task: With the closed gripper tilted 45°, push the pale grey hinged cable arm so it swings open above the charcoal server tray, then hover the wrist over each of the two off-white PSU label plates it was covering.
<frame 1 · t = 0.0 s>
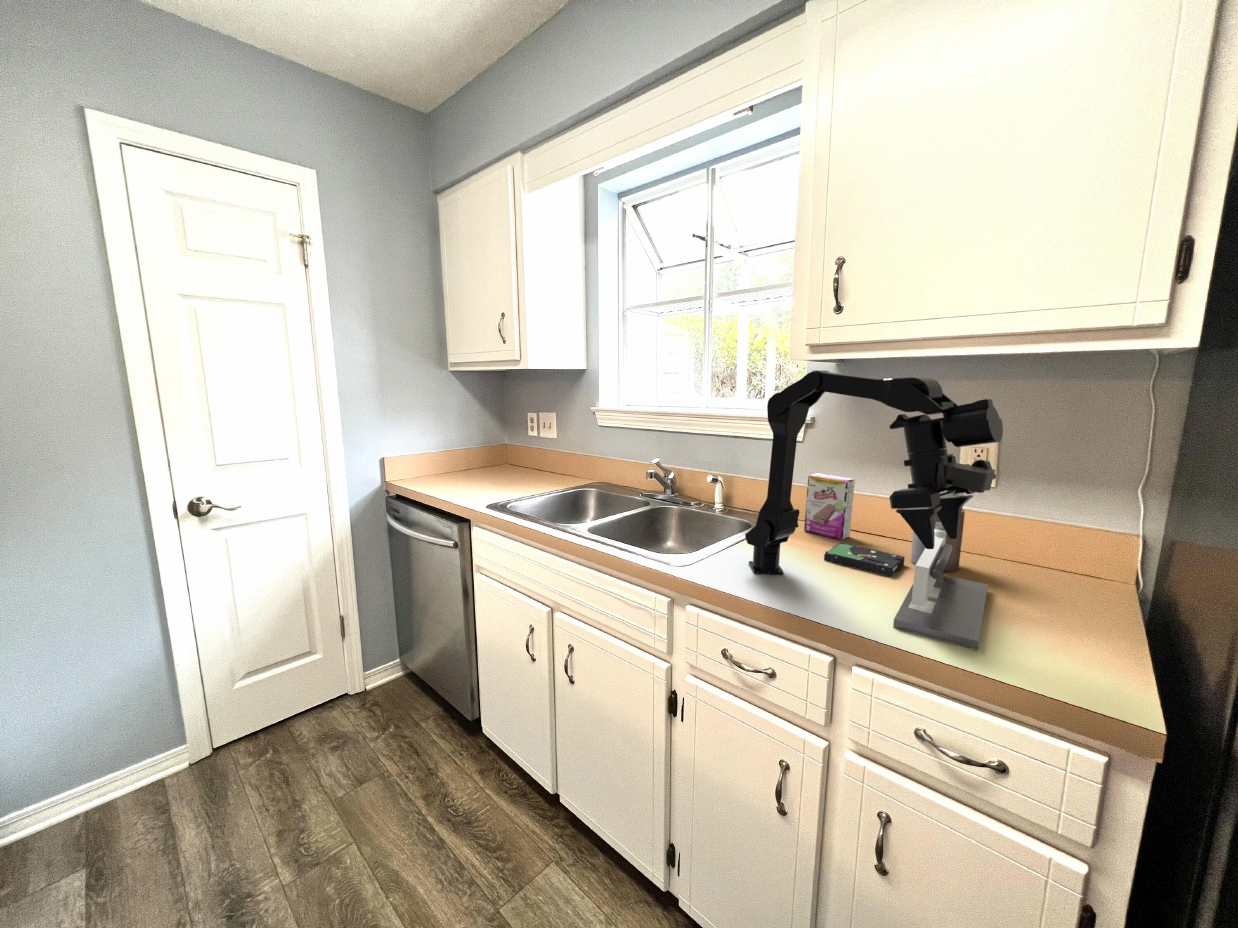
hand: (942, 543, 84), 15 cm above the worktop, tool pointing down, fingers open, 9 cm apart
pillar candle: (933, 565, 117), on the worktop
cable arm: (934, 567, 95), point 7 cm above the worktop, hinge at 0.0°
server tray: (943, 607, 95), on the worktop
candy bar box: (826, 534, 140), on the worktop
disk drive: (863, 565, 118), on the worktop
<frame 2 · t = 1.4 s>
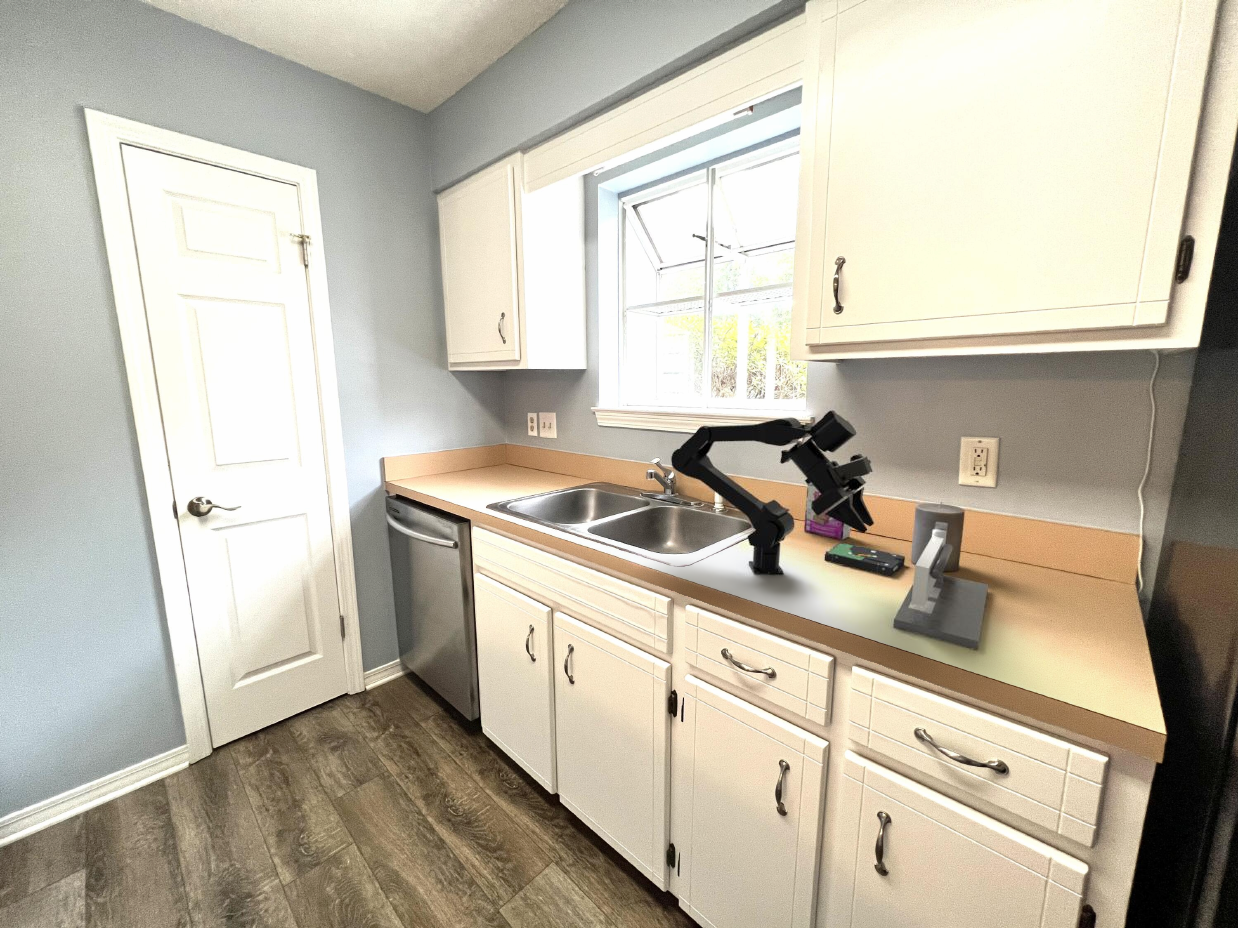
hand: (868, 528, 99), 14 cm above the worktop, tool tilted 45°, fingers open, 5 cm apart
nothing on the worktop moved.
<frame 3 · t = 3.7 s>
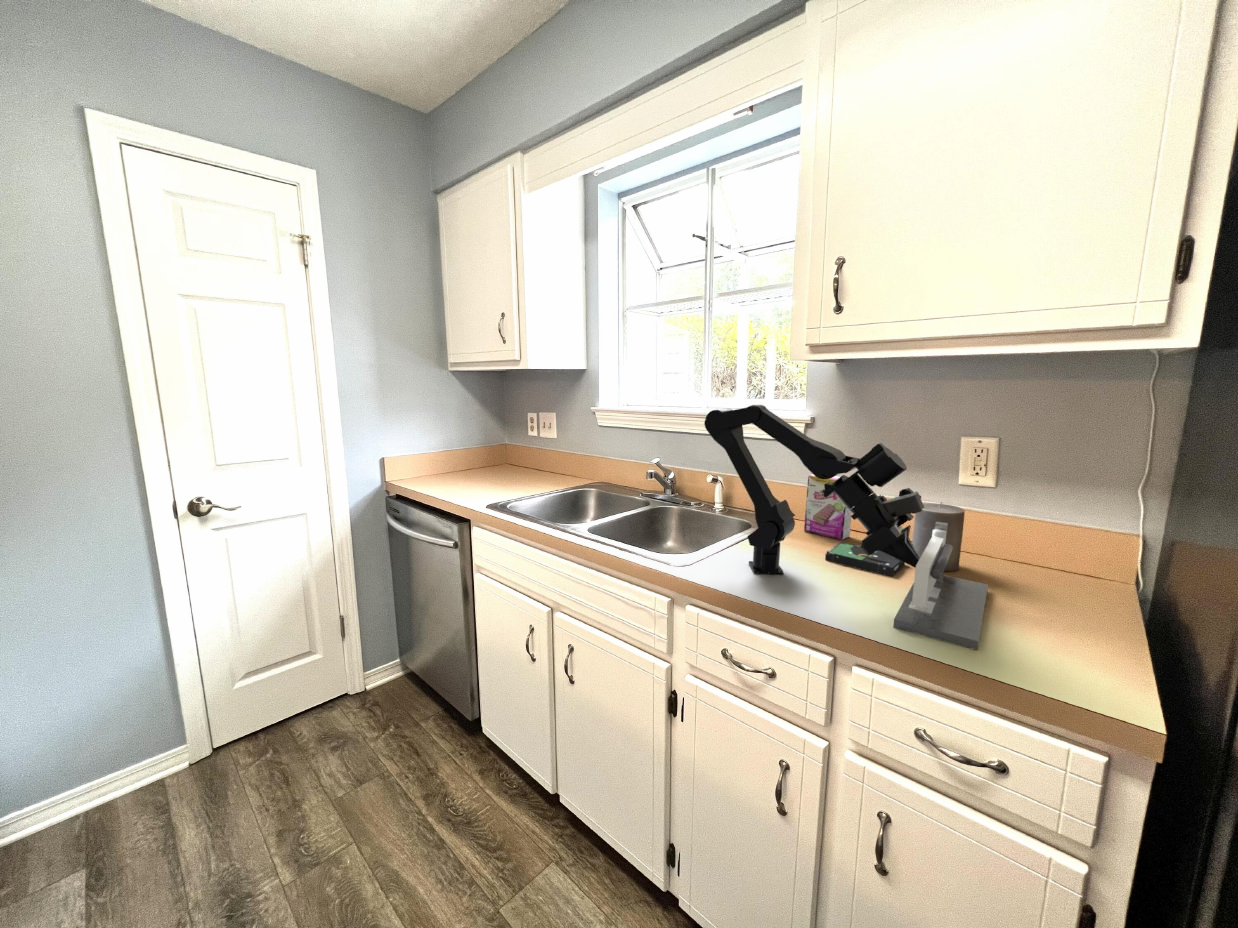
hand: (920, 567, 94), 8 cm above the worktop, tool tilted 45°, fingers closed, pressing on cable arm
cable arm: (934, 567, 95), point 7 cm above the worktop, hinge at 0.3°, touching gripper
everything else where it was.
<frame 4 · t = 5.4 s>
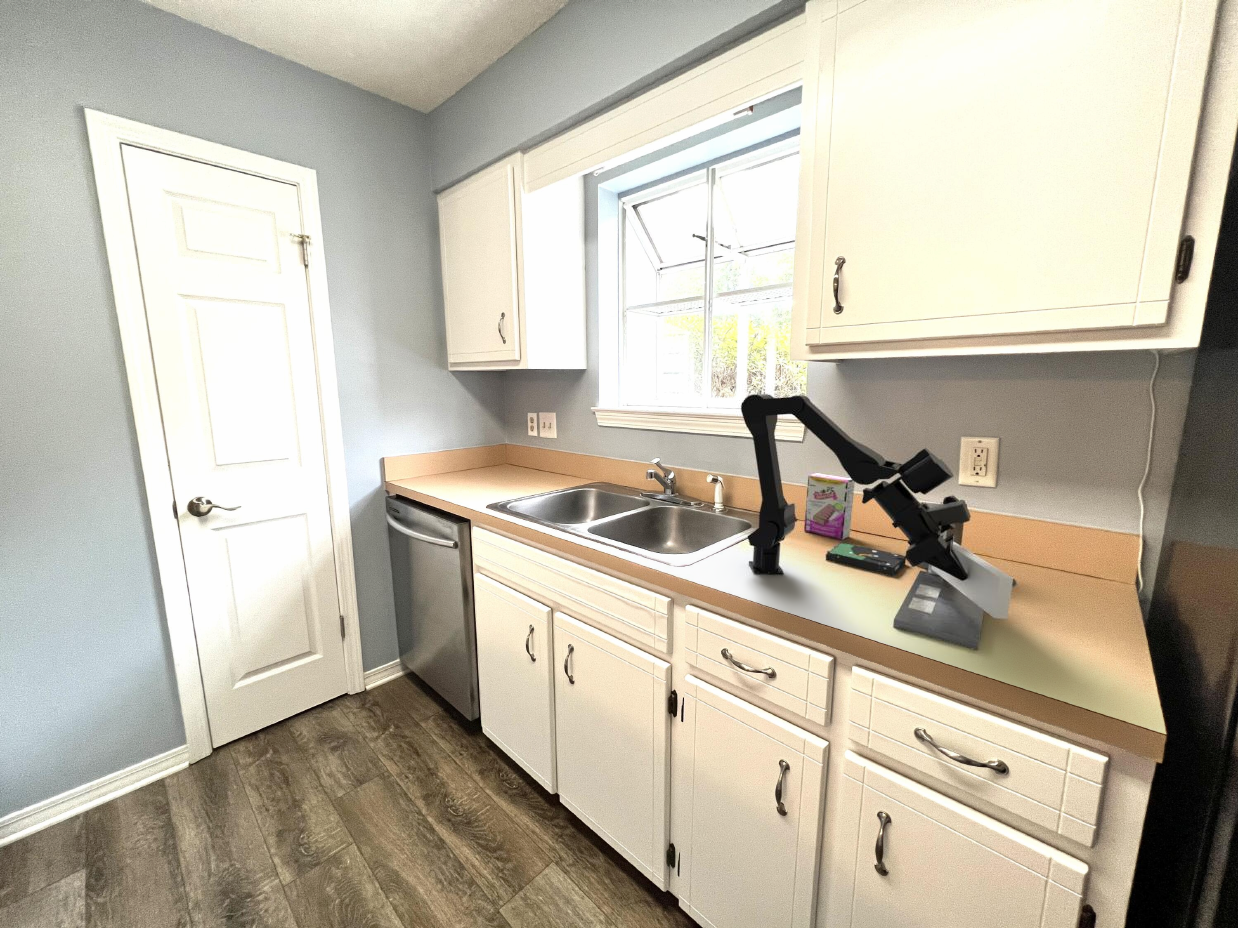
hand: (965, 578, 90), 7 cm above the worktop, tool tilted 45°, fingers closed
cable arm: (968, 571, 93), point 7 cm above the worktop, hinge at 30.4°, touching gripper
everything else where it was.
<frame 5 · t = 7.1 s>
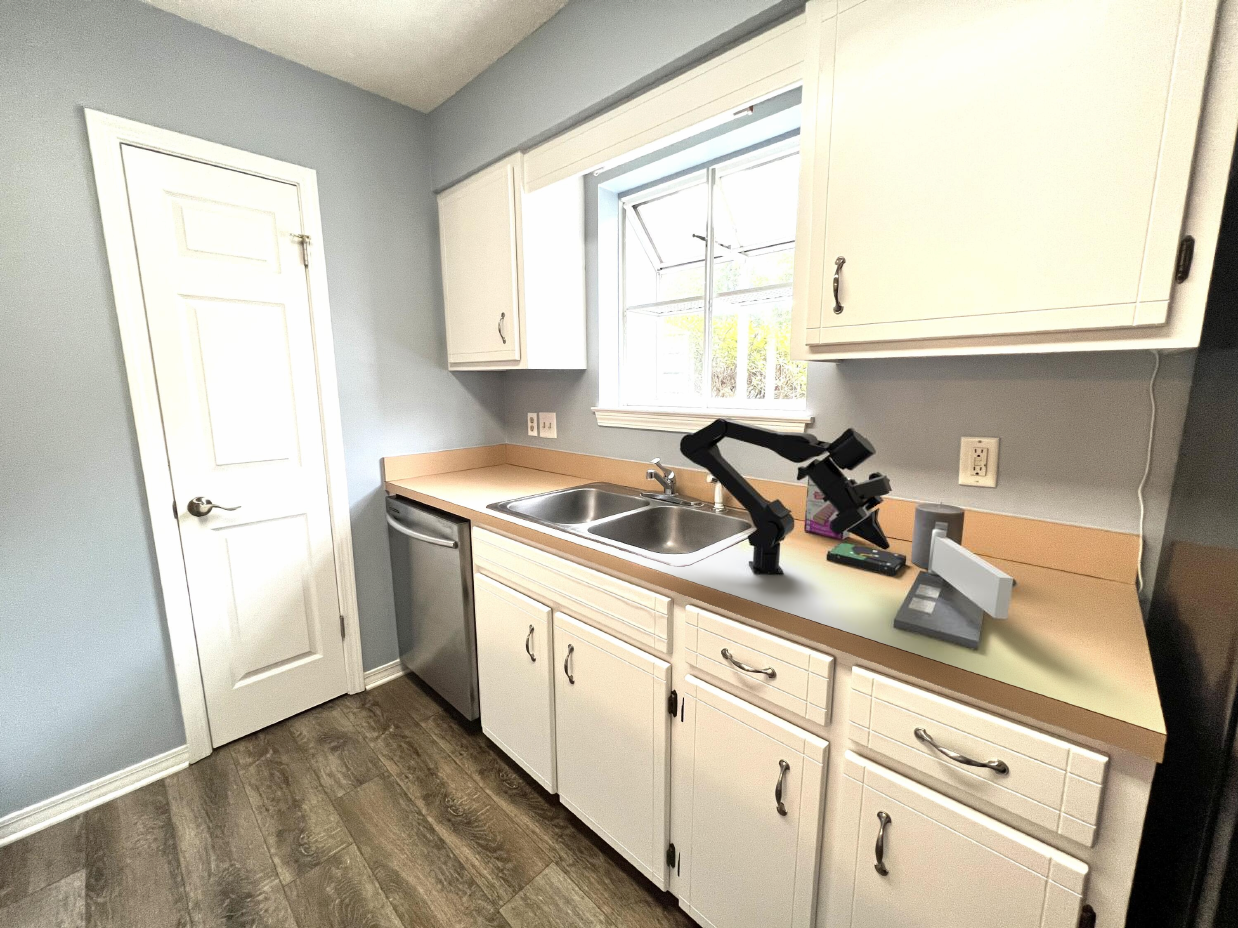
hand: (887, 548, 97), 10 cm above the worktop, tool tilted 45°, fingers closed
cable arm: (969, 571, 93), point 7 cm above the worktop, hinge at 30.4°
everything else where it was.
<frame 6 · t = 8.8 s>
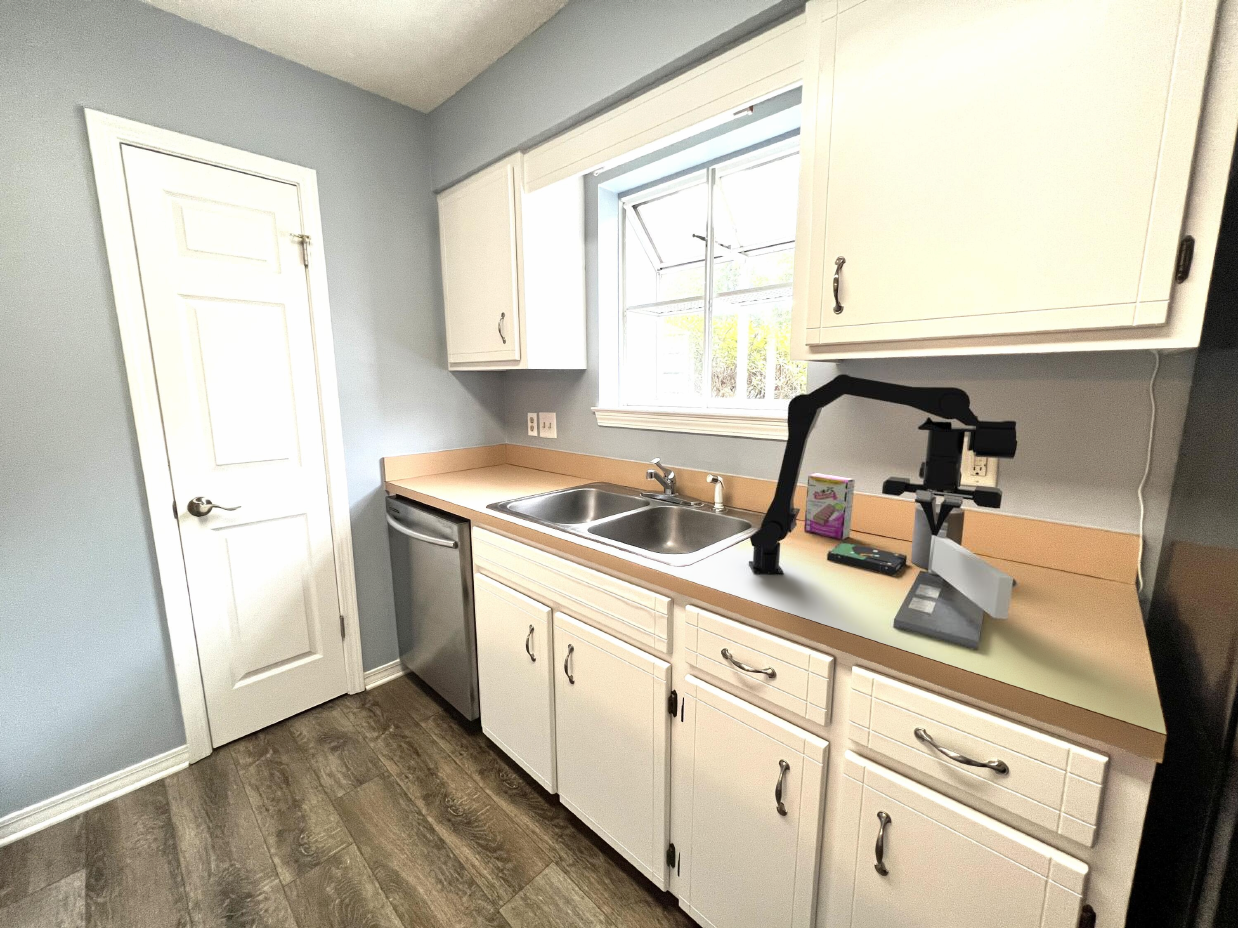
hand: (934, 535, 96), 13 cm above the worktop, tool pointing down, fingers closed
nothing on the worktop moved.
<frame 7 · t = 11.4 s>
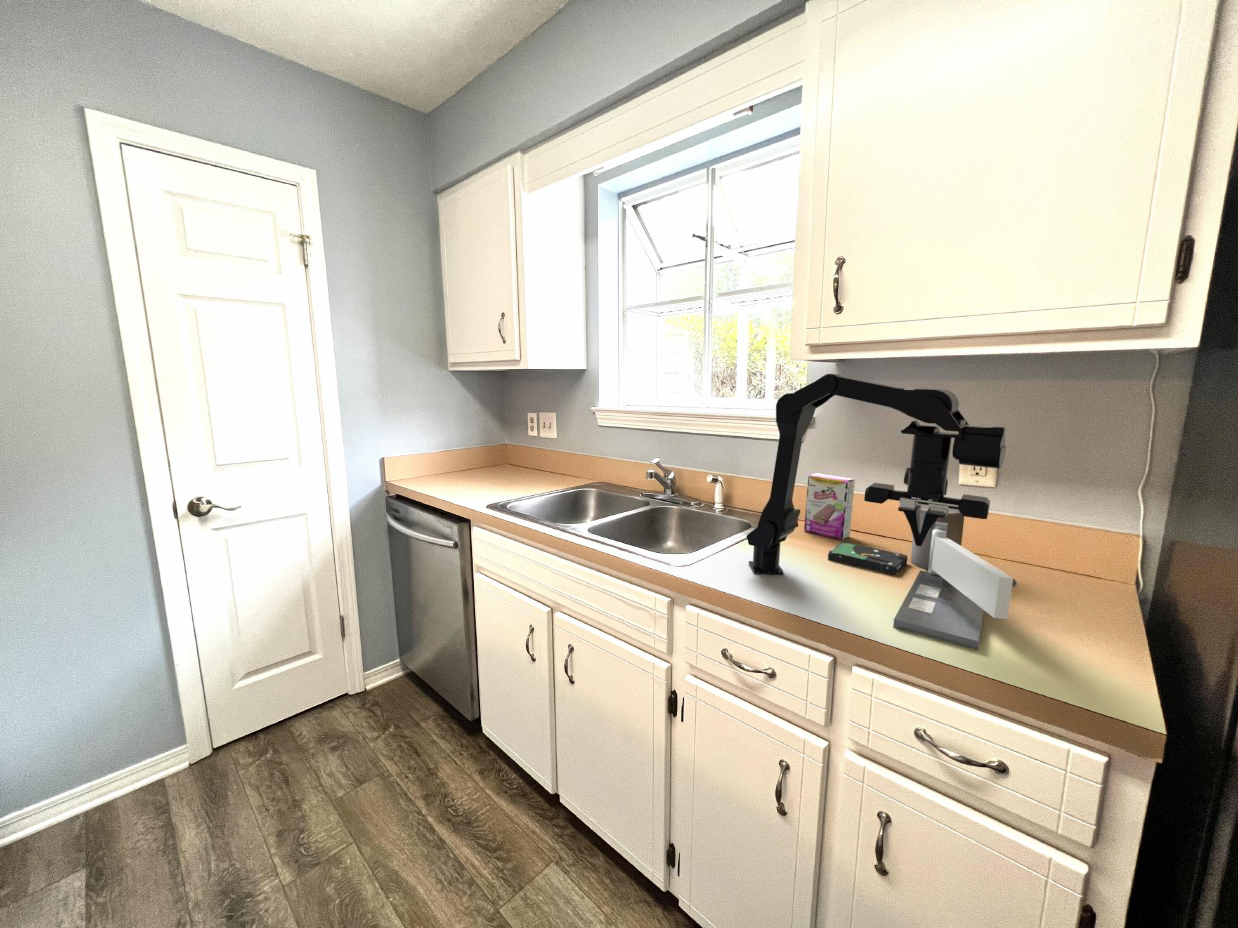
hand: (918, 545, 91), 13 cm above the worktop, tool pointing down, fingers closed
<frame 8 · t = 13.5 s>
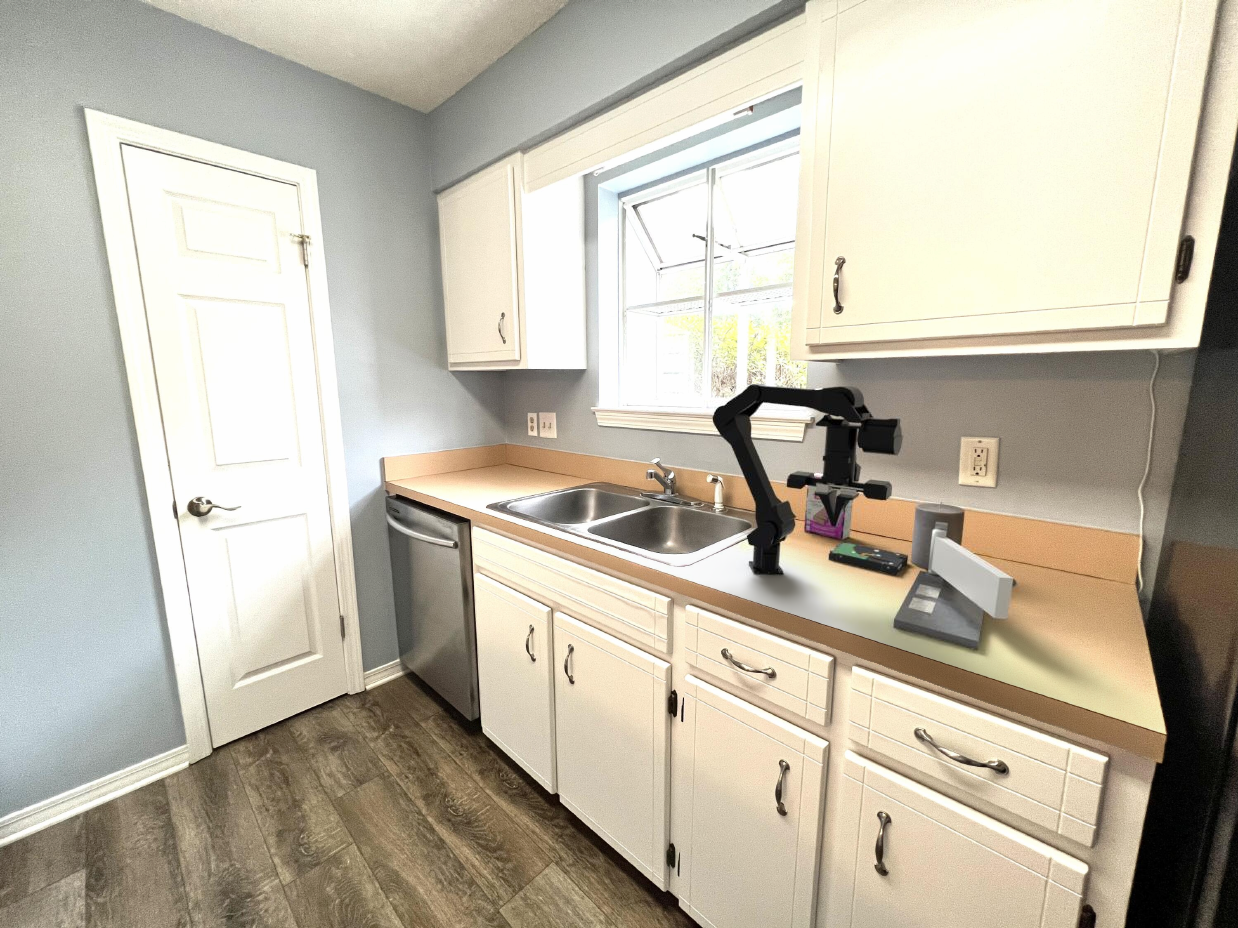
hand: (834, 526, 102), 13 cm above the worktop, tool pointing down, fingers closed
at the end: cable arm at +30° (first picture: +0°); disk drive moved 1.7 cm from its start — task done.
